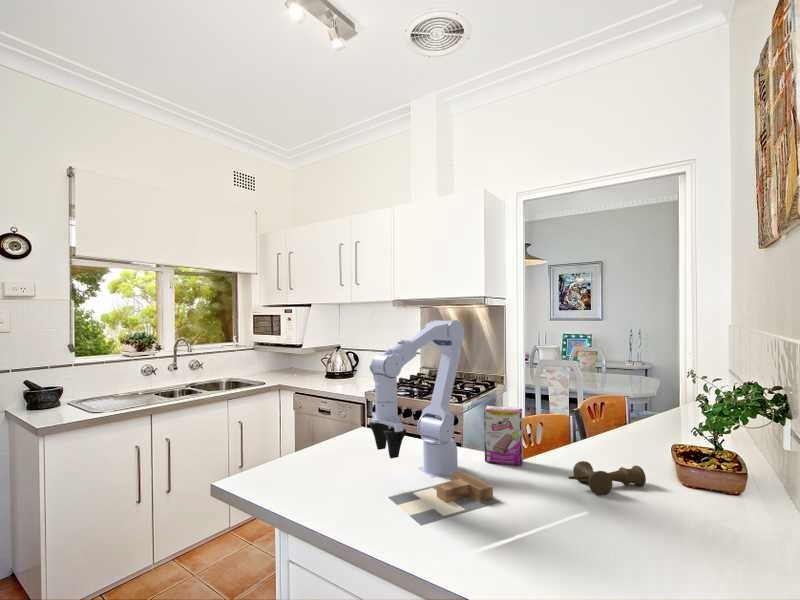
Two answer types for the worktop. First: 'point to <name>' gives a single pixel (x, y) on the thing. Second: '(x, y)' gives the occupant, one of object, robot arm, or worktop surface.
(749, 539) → the worktop surface
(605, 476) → the kendama
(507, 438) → the candy bar box
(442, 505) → the mat
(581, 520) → the worktop surface
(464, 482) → the t block
